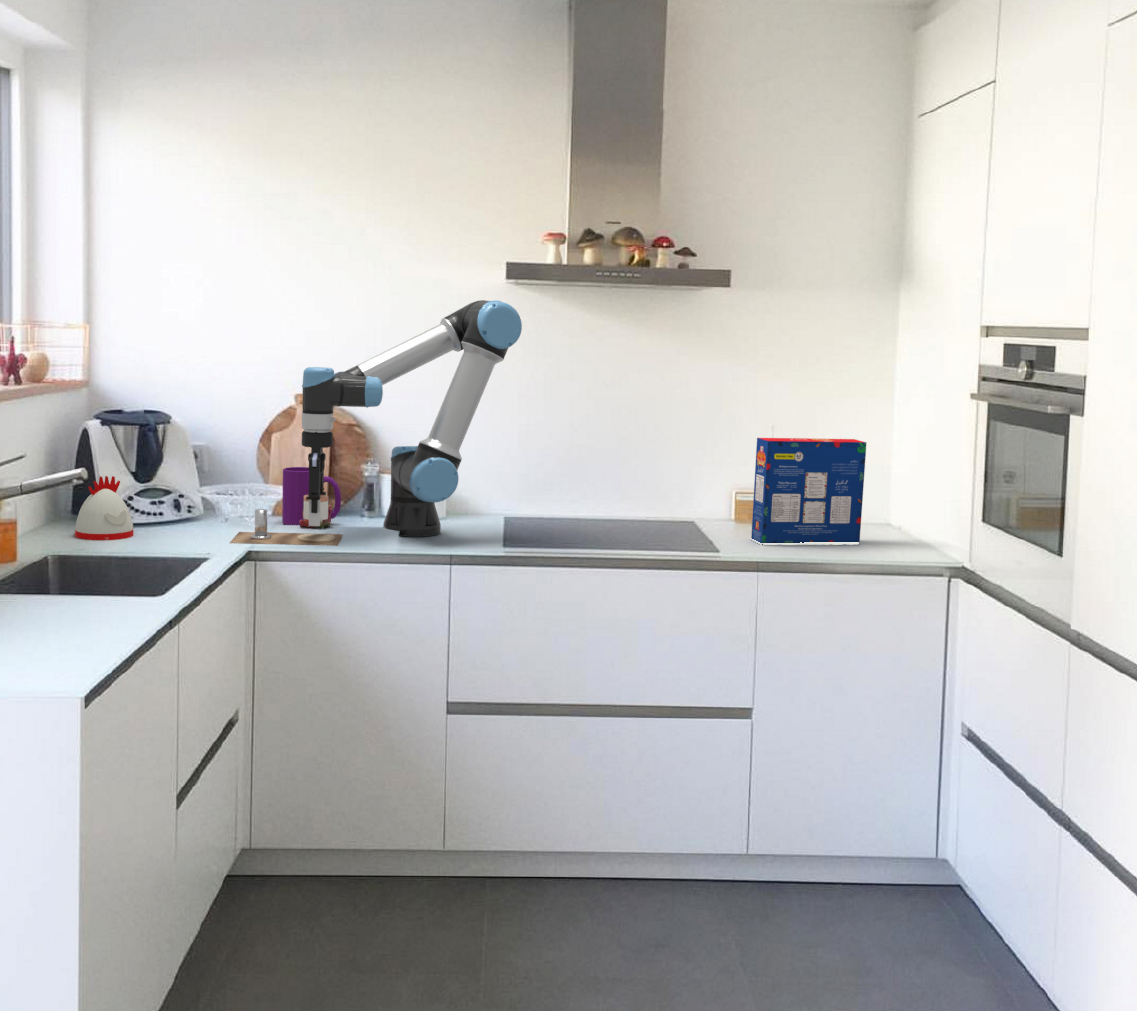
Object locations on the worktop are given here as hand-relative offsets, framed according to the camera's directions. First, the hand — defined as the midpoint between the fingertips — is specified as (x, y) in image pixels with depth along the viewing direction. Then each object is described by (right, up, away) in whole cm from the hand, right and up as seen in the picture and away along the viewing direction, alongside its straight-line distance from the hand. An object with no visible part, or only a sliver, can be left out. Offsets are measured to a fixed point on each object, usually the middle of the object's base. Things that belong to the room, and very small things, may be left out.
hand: (315, 523), depth 346 cm
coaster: (0, -4, +1) cm, 4 cm away
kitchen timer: (-53, -3, +3) cm, 54 cm away
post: (-13, -4, 0) cm, 14 cm away
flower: (-4, -3, +19) cm, 20 cm away
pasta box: (+127, -6, +32) cm, 131 cm away
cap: (0, +1, 0) cm, 1 cm away
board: (-7, -5, 0) cm, 9 cm away
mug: (-7, -1, +31) cm, 32 cm away
